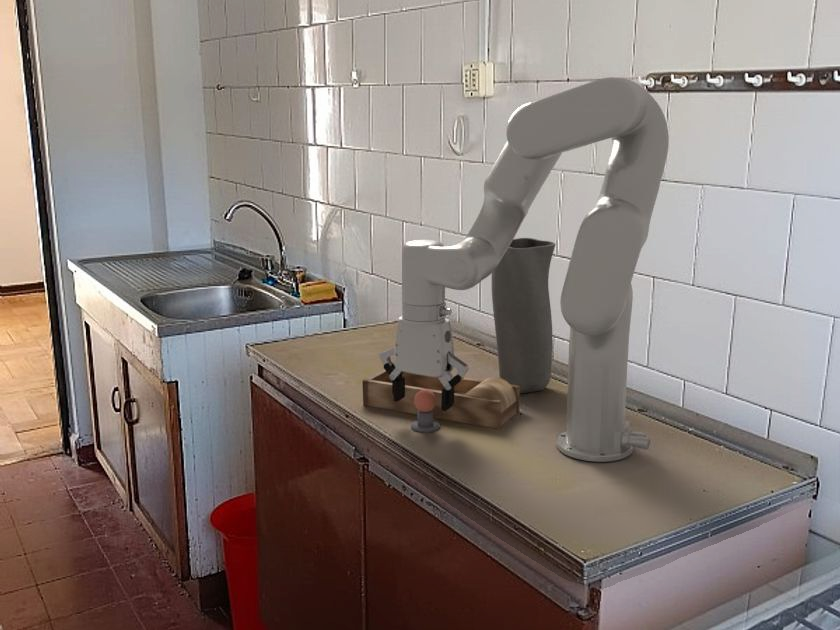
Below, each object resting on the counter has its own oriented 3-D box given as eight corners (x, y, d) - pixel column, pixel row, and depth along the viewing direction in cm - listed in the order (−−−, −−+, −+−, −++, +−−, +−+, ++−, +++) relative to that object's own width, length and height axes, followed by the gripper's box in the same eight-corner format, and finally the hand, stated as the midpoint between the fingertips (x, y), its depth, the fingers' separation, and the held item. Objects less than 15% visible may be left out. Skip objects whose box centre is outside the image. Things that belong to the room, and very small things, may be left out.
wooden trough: (519, 418, 163) (519, 378, 161) (498, 437, 155) (499, 394, 153) (389, 397, 176) (388, 359, 174) (363, 412, 167) (362, 373, 165)
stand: (444, 424, 156) (444, 408, 156) (431, 434, 152) (431, 418, 151) (419, 420, 159) (419, 404, 158) (405, 429, 154) (405, 413, 154)
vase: (506, 402, 167) (508, 249, 160) (482, 383, 179) (482, 240, 171) (563, 395, 171) (567, 245, 164) (535, 376, 182) (538, 236, 175)
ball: (440, 409, 155) (440, 388, 154) (430, 416, 152) (429, 395, 151) (420, 406, 157) (420, 385, 156) (410, 413, 154) (409, 391, 153)
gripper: (477, 312, 150) (475, 405, 154) (390, 301, 157) (391, 390, 162) (459, 322, 143) (457, 419, 147) (369, 310, 151) (370, 402, 155)
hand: (422, 403), depth 154 cm, fingers open, 9 cm apart
